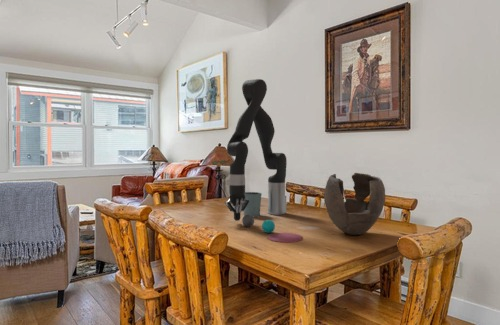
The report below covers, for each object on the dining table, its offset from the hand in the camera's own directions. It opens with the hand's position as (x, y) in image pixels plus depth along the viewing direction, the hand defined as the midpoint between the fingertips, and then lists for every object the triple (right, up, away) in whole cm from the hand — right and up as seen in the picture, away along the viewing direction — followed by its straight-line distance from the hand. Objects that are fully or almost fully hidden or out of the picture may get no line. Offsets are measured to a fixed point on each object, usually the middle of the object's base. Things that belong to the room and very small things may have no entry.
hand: (237, 220), depth 160 cm
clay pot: (+49, -3, -20) cm, 53 cm away
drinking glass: (+7, -1, +21) cm, 22 cm away
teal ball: (+14, 0, -17) cm, 22 cm away
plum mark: (+20, -3, -25) cm, 32 cm away
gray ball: (+5, +1, -6) cm, 8 cm away
